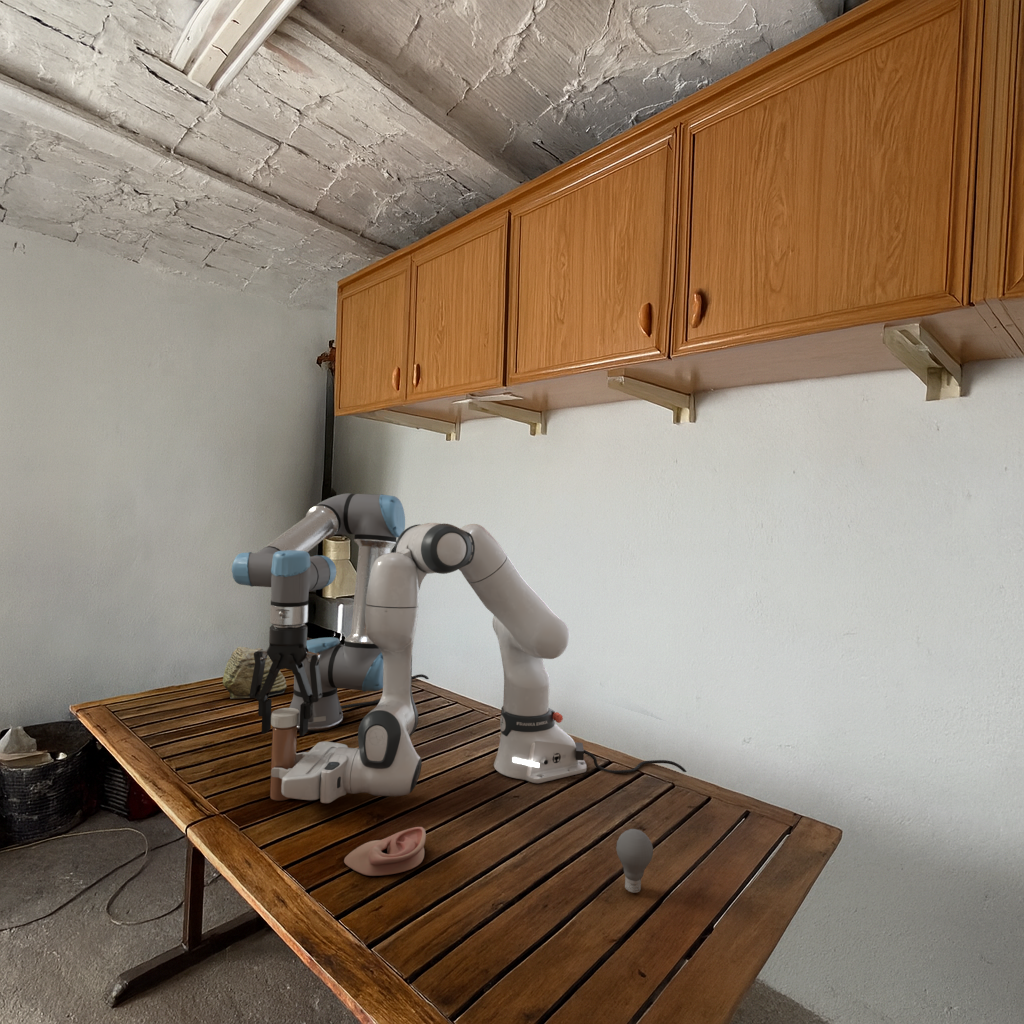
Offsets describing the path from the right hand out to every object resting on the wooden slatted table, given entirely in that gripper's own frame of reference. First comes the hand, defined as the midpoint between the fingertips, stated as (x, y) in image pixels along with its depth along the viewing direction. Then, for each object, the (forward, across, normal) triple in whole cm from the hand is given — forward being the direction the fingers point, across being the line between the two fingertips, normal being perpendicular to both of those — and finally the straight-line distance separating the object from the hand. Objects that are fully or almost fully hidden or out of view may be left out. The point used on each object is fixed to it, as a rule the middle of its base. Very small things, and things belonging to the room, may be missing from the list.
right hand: (279, 764), depth 134 cm
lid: (-1, 0, -11) cm, 11 cm away
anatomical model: (-29, +20, +6) cm, 35 cm away
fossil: (+36, -62, +6) cm, 72 cm away
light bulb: (-72, +23, +6) cm, 75 cm away
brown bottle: (-1, 0, +6) cm, 6 cm away
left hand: (-1, 0, -7) cm, 7 cm away
